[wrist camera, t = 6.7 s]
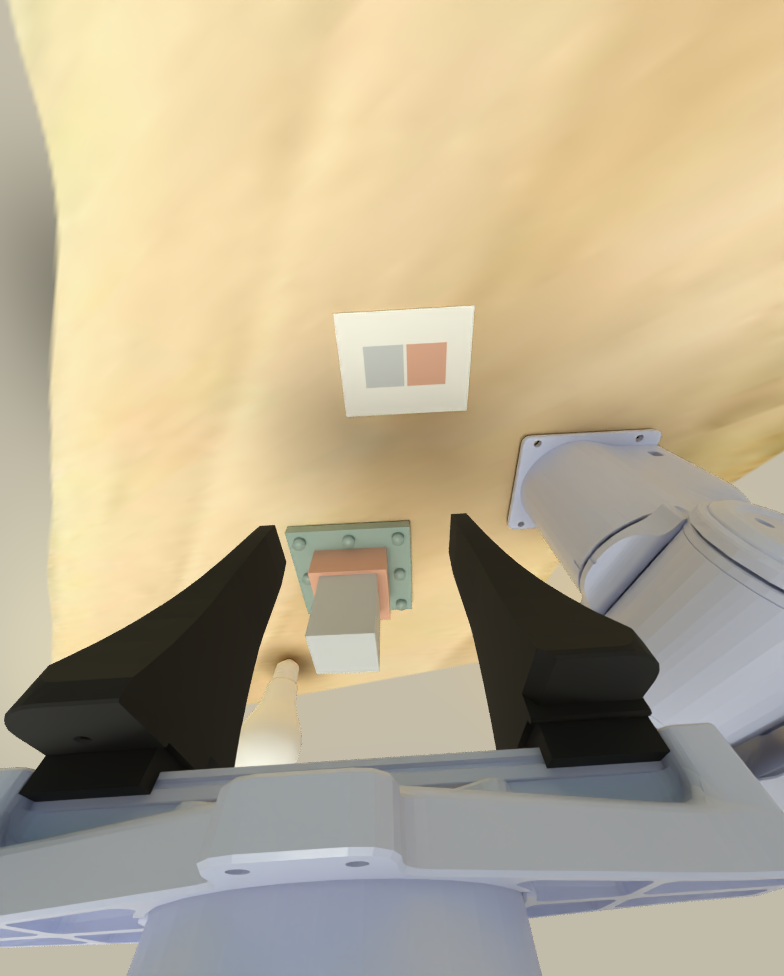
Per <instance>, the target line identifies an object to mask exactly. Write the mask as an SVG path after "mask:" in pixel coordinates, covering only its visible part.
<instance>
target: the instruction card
mask: <svg viewBox="0 0 784 976" xmlns="http://www.w3.org/2000/svg"><path fill="white" fill-rule="evenodd" d="M474 309H475V306H457V307H439V308H422V309H405V310H387V311H370V312H352V313H335V314H333V316H334V324H335V332H336V339H337V347H338V355H339V363H340V371H341V378H342V386H343V394H344V402H345V409H346V417H354V416H373V415H391V414H409V413H428V412H446V411H464V410H467V401H468V388H469V374H470V361H471V348H472V335H473V322H474Z"/></svg>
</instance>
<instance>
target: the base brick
mask: <svg viewBox="0 0 784 976" xmlns="http://www.w3.org/2000/svg"><path fill="white" fill-rule="evenodd" d="M374 573H377V583H378V593H379V603H380V620H390V589H389V576H388V563H387V550H386V547H377V548H357V549H338V550H318V551H314V553H313V557H312V560H311V564H310V568H309V571H308V576H309V579H310V583H311V587H312V591H313V594H314V597H315V592H316V588H317V584H318V580H319V576H331V575H352V574H374Z"/></svg>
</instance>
